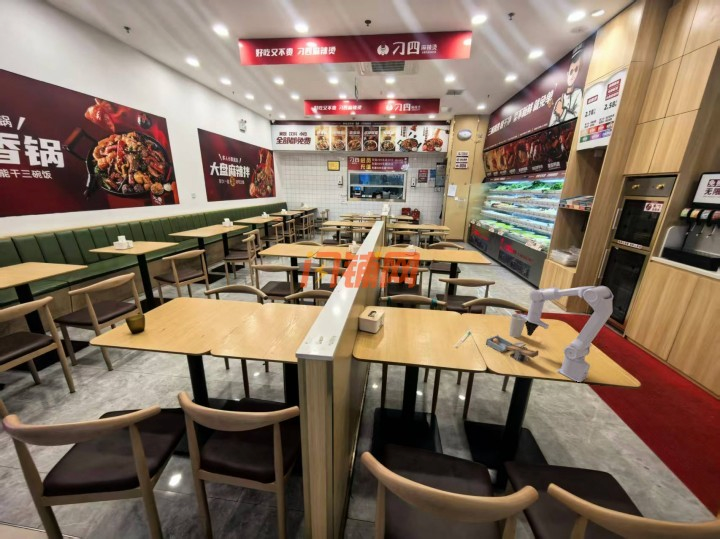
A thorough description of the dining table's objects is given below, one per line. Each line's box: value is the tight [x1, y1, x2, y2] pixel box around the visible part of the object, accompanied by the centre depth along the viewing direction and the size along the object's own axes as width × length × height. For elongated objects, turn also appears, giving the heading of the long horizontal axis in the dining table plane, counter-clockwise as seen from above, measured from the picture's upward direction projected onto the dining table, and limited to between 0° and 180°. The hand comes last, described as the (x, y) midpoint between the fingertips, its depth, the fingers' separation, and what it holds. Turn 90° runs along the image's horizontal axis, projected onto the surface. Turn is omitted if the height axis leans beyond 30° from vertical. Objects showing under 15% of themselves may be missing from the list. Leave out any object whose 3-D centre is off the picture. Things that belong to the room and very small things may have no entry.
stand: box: [509, 346, 531, 364], centre depth 143 cm, size 6×7×5 cm
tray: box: [485, 334, 514, 353], centre depth 153 cm, size 9×9×4 cm
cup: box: [508, 313, 527, 339], centre depth 164 cm, size 8×8×12 cm
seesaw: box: [505, 341, 539, 359], centre depth 144 cm, size 14×12×2 cm
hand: (529, 335), depth 149 cm, fingers closed
